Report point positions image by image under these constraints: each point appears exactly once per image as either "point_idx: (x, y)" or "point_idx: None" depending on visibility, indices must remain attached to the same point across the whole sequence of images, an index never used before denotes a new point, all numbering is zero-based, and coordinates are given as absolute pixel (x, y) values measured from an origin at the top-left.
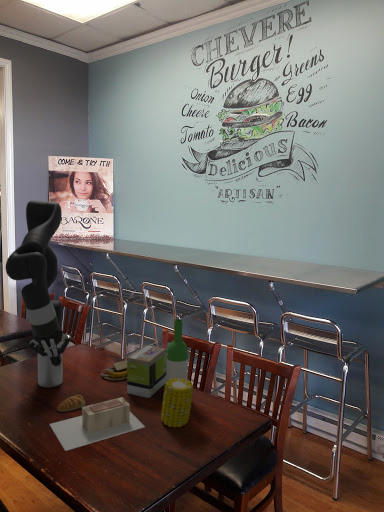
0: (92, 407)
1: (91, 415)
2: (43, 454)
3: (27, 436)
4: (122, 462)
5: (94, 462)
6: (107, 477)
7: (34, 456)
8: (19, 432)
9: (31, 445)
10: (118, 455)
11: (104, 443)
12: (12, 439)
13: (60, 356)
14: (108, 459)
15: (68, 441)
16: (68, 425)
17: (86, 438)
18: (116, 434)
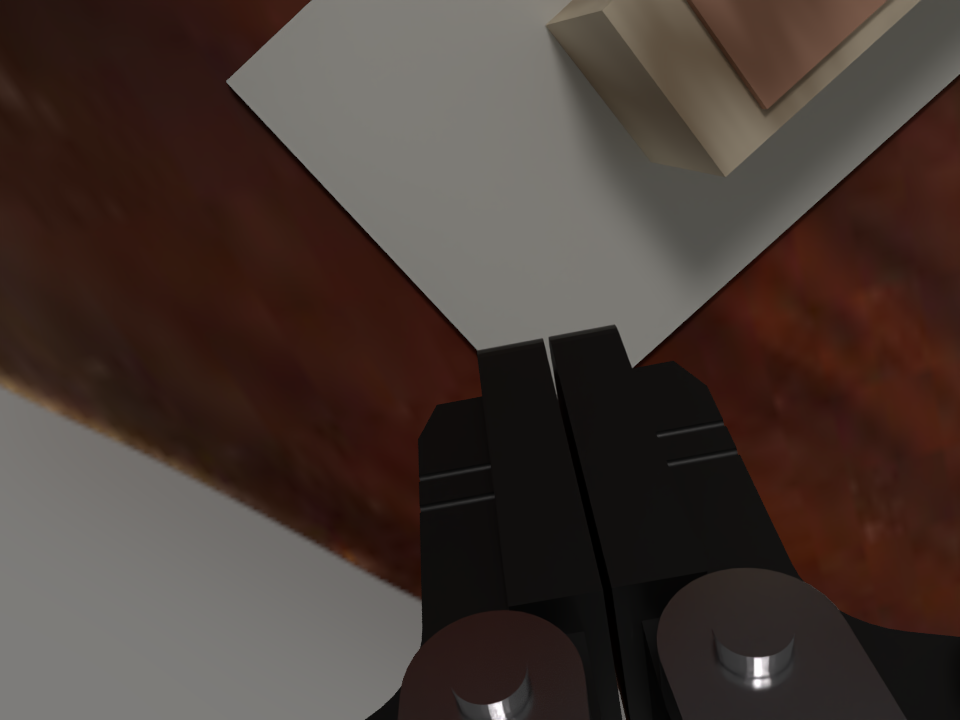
0: (728, 15)
1: (744, 155)
2: (404, 490)
3: (130, 301)
4: (955, 434)
5: (784, 479)
6: (892, 586)
7: (351, 528)
8: (10, 257)
9: (247, 412)
10: (920, 370)
11: (798, 252)
12: (26, 374)
13: (748, 494)
14: (865, 427)
15: (530, 316)
16: (424, 70)
17: (656, 242)
18: (876, 130)
